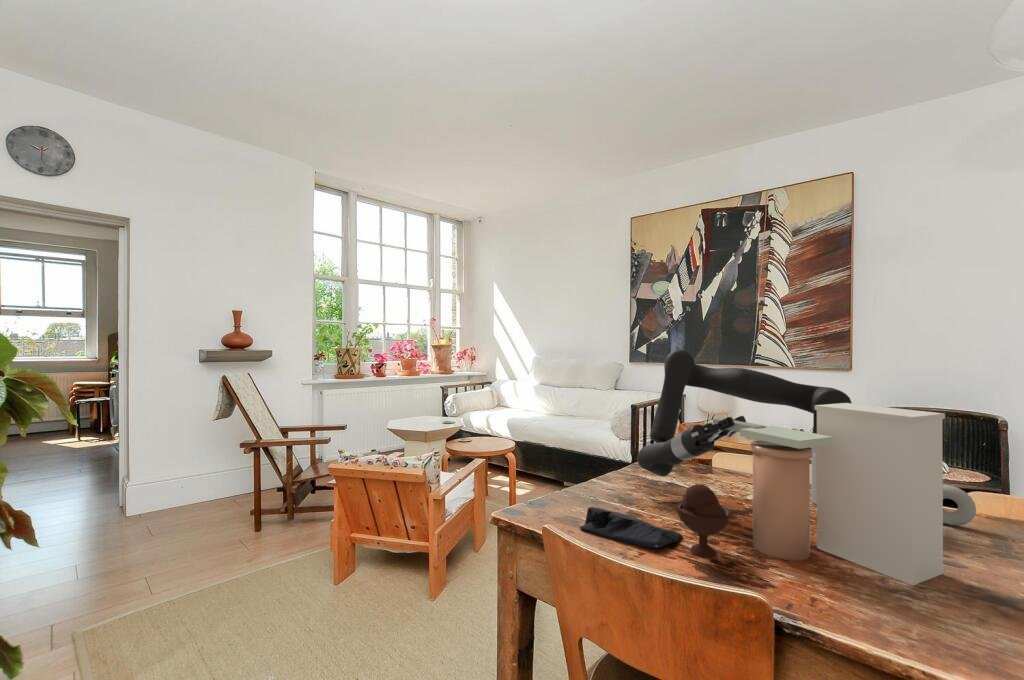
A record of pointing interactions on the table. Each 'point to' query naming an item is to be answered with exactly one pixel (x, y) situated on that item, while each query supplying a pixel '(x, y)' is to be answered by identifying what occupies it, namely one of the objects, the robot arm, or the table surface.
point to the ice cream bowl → (702, 517)
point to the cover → (779, 435)
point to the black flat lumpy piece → (627, 529)
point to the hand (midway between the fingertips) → (738, 420)
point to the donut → (964, 503)
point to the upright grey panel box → (881, 489)
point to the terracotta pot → (781, 500)
